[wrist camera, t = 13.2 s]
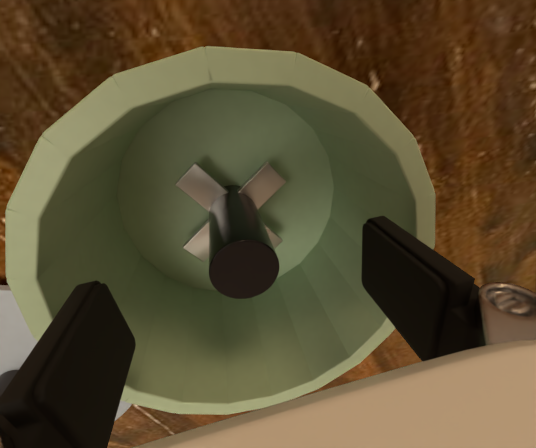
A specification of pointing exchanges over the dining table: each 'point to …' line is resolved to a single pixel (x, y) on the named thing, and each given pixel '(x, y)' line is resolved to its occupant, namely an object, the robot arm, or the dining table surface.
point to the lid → (18, 342)
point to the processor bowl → (194, 216)
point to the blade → (235, 231)
